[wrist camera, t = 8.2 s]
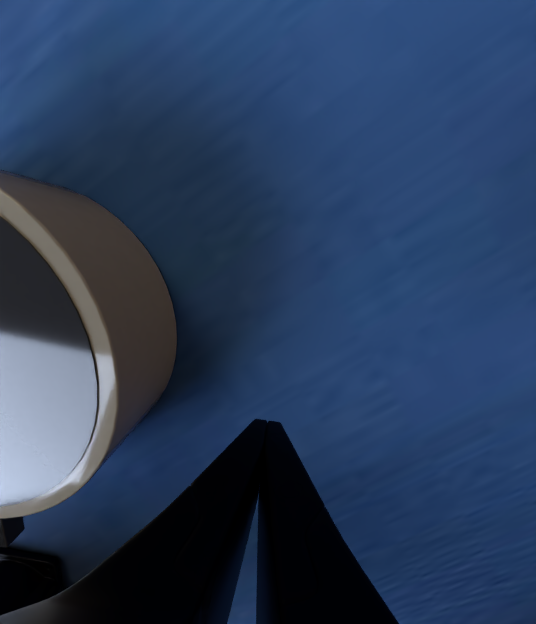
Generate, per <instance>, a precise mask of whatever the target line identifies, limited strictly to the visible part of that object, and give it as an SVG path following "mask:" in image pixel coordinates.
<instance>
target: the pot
mask: <svg viewBox="0 0 536 624" xmlns="http://www.w3.org/2000/svg"><path fill="white" fill-rule="evenodd" d="M176 346H177V331H176V319H175V314H174V309H173V304H172V301H171V298H170V295H169V292H168V289H167V286H166V284H165V281H164V279H163V277H162V275H161V273H160V271H159V269H158V267H157V265H156V264H155V262H154V260H153V259H152V257H151V256H150V254H149V252H148V251H147V250H146V248H145V247H144V246H143V245H142V243H141V242H140V241H139V240H138V238H137V237H136V236H135V235H134V234H133V233H132V232H131V231H130V230H129V229H128V228H127V227H126V226H125V225H124V224H123V223H122V222H121V221H120V220H119V219H118V218H117V217H115V216H114V215H113V214H112V213H110V212H109V211H108V210H107V209H105V208H104V207H103V206H101V205H99V204H98V203H96V202H94V201H93V200H91V199H89V198H88V197H86V196H84V195H82V194H79V193H77V192H75V191H73V190H70V189H68V188H65V187H62V186H58V185H55V184H51V183H48V182H44V181H41V180H37V179H33V178H30V177H26V176H22V175H19V174H15V173H11V172H8V171H4V170H0V547H5V548H7V547H8V546H9V545H10V544H11V543H12V542H13V541H14V540H15V539H16V538H17V537H18V535H19V534H20V533H21V532H22V531H23V530H24V529H25V528H24V522H23V516H27V515H30V514H34V513H38V512H41V511H44V510H46V509H48V508H51V507H53V506H55V505H57V504H60V503H61V502H63V501H64V500H66V499H67V498H69V497H70V496H72V495H73V494H75V493H76V492H77V491H78V490H80V489H81V488H82V487H83V486H84V485H85V484H86V483H87V482H88V481H89V480H90V479H91V478H92V477H93V476H94V475H95V473H96V472H97V471H98V470H99V469H100V468H101V467H102V465H103V464H104V463H105V462H106V461H107V460H108V458H109V457H110V456H111V455H112V454H113V453H114V452H115V450H116V449H117V448H118V447H119V446H120V445H121V444H122V442H123V441H124V440H125V439H126V438H127V437H128V436H129V434H130V433H131V432H132V431H133V430H134V429H135V428H136V426H137V425H138V424H139V423H140V422H141V421H142V420H143V418H144V417H145V416H146V415H147V414H148V413H149V412H150V410H151V409H152V408H153V407H154V405H155V404H156V403H157V401H158V400H159V399H160V397H161V396H162V394H163V392H164V390H165V388H166V387H167V385H168V382H169V379H170V377H171V374H172V371H173V367H174V362H175V357H176Z"/></svg>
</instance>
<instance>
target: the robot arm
mask: <svg viewBox="0 0 536 624" xmlns="http://www.w3.org/2000/svg"><path fill="white" fill-rule="evenodd" d="M259 487H260V488H259ZM258 494H259V498H258ZM257 500H258V542H257V603H256V624H399V623H398V622H397V620H396V619H395V617H394V616H393V614H392V613H391V611H390V610H389V608H388V607H387V605H386V604H385V602H384V601H383V599H382V598H381V596H380V595H379V593H378V592H377V590H376V589H375V587H374V586H373V584H372V583H371V581H370V580H369V578H368V577H367V575H366V574H365V572H364V571H363V569H362V568H361V566H360V565H359V563H358V562H357V560H356V558H355V557H354V555H353V554H352V552H351V551H350V549H349V548H348V546H347V544H346V543H345V541H344V540H343V538H342V536H341V534H340V532H339V531H338V529H337V527H336V525H335V524H334V522H333V520H332V518H331V516H330V514H329V512H328V511H327V509H326V508H325V506H324V503H323V501H322V500H321V498H320V496H319V494H318V492H317V490H316V488H315V486H314V484H313V483H312V481H311V479H310V477H309V475H308V473H307V471H306V469H305V468H304V466H303V464H302V462H301V460H300V458H299V456H298V454H297V452H296V451H295V449H294V447H293V445H292V443H291V441H290V439H289V437H288V436H287V434H286V432H285V430H284V428H283V426H282V424H281V423H280V422H275V421H268V423H267V421H266V420H261V419H254V420H253V421H252V422H251V423H250V424H249V425H248V427H247V428H246V429H245V430H244V431H243V432H242V433H241V434H240V435H239V436H238V437H237V438H236V439H235V440H234V441H233V442H232V443H231V444H230V445H229V446H228V447H227V448H226V449H225V450H224V451H223V452H222V453H221V454H220V455H219V456H218V457H217V458H216V459H215V460H214V461H213V462H212V463H211V464H210V465H209V466H208V467H207V468H206V469H205V470H204V471H203V472H202V473H201V474H200V475H199V476H198V477H197V478H196V479H195V480H194V481H193V482H192V483H191V486H188V487H187V488H186V489H185V490H184V491H183V492H182V493H181V494H180V495H179V496H178V497H177V498H176V499H175V500H174V501H173V502H172V503H171V504H170V505H169V506H168V507H167V508H166V509H165V510H164V511H163V512H161V513H160V514H159V515H158V516H157V517H156V518H155V519H153V520H152V521H151V522H150V523H149V524H148V525H146V526H145V527H144V528H143V529H142V530H140V531H139V532H138V533H137V534H136V535H134V536H133V537H132V538H131V539H130V540H128V541H127V542H126V543H125V544H124V545H122V546H121V547H120V548H119V549H117V550H116V551H115V552H114V553H113V554H111V555H110V556H109V557H108V558H107V559H105V560H104V561H103V562H102V563H100V564H99V565H98V566H97V567H96V568H94V569H93V570H92V571H91V572H89V573H88V574H87V575H86V576H84V577H83V578H82V579H80V580H79V581H78V582H76V583H75V584H73V585H72V586H70V587H69V588H67V589H65V590H64V591H63V589H62V580H61V572H60V564H59V561H58V559H56V558H55V557H51V556H45V555H40V554H34V553H29V552H23V551H18V550H12V549H7V548H1V547H0V624H227V622H228V618H229V614H230V610H231V606H232V601H233V597H234V593H235V589H236V585H237V581H238V577H239V573H240V569H241V565H242V561H243V557H244V553H245V549H246V545H247V541H248V537H249V533H250V529H251V525H252V521H253V517H254V513H255V509H256V504H257Z"/></svg>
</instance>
